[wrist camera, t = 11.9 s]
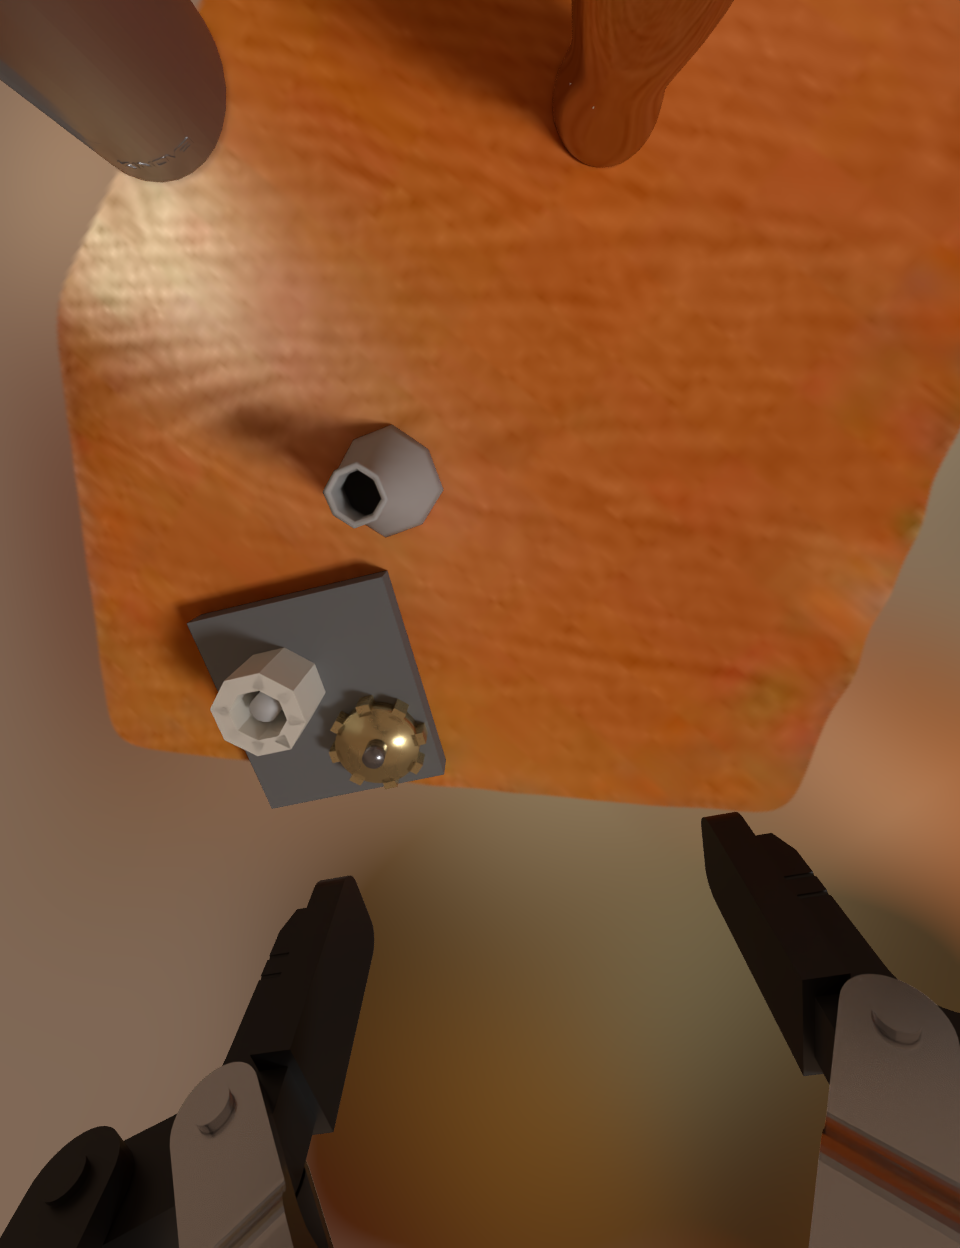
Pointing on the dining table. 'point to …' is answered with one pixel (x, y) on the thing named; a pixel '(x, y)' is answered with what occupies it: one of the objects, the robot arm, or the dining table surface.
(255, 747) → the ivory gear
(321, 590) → the board
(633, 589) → the dining table surface
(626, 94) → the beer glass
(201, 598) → the dining table surface
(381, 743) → the brass gear
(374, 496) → the flask
